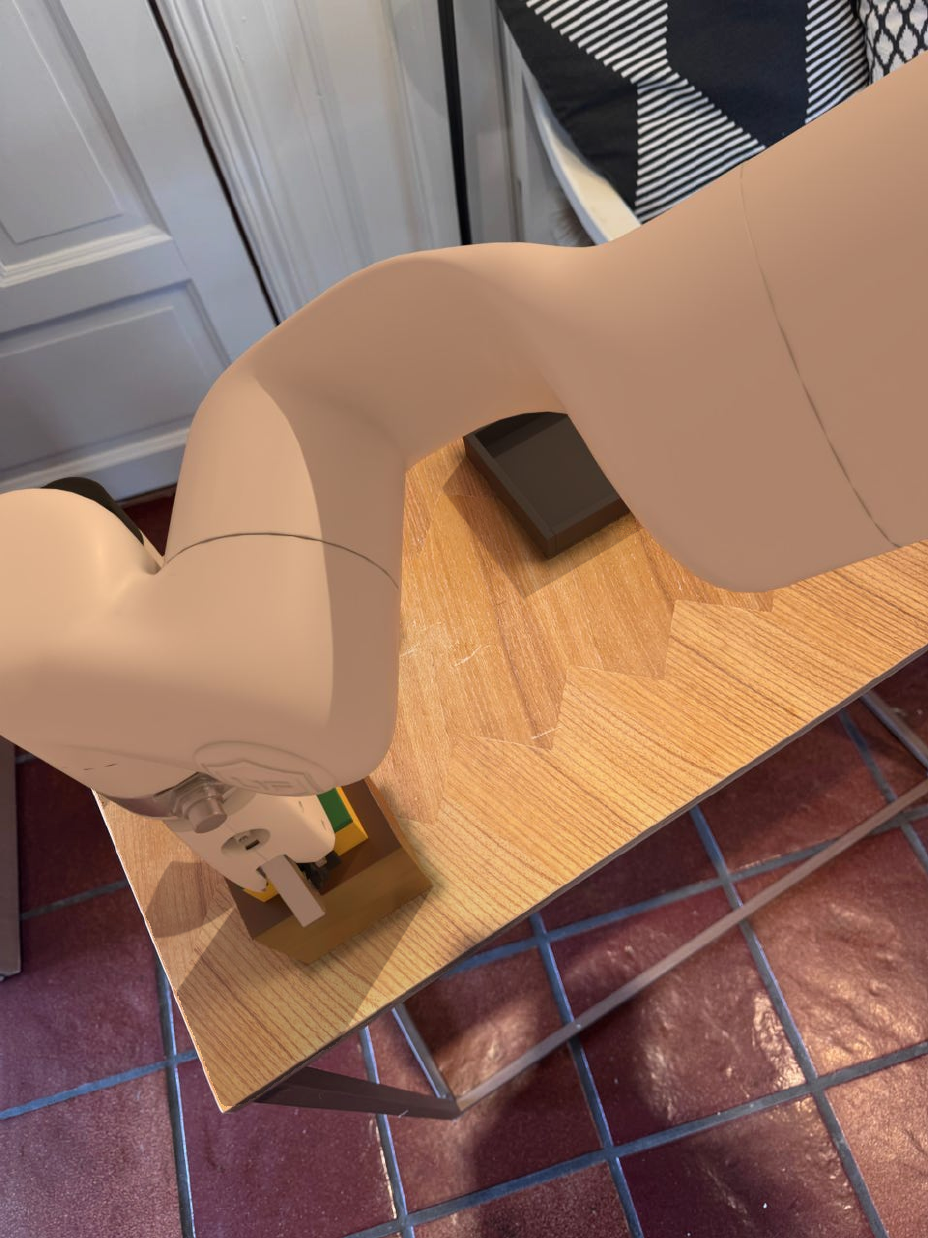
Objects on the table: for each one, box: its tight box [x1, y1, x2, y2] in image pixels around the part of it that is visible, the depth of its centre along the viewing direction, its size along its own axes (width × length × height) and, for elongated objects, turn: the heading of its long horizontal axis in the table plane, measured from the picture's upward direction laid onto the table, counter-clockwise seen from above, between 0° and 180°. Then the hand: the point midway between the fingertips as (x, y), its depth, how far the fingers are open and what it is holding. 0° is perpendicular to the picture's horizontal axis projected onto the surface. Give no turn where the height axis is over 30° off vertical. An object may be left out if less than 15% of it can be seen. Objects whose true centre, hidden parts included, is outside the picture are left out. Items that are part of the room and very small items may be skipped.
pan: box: [462, 411, 632, 560], centre depth 77 cm, size 26×14×3 cm, turn 121°
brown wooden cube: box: [223, 775, 434, 965], centre depth 58 cm, size 10×8×12 cm
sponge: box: [236, 787, 368, 902], centre depth 51 cm, size 7×5×4 cm
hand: (294, 831), depth 52 cm, fingers closed on sponge, 5 cm apart
